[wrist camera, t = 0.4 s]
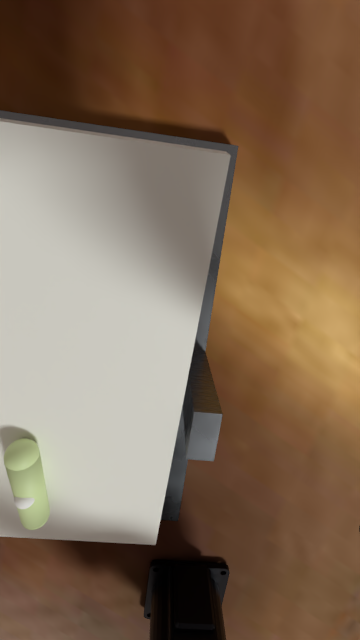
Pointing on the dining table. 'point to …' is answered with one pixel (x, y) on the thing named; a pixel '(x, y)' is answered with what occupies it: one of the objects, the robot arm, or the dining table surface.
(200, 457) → the stand
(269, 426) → the dining table surface
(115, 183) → the leveling deck
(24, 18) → the dining table surface
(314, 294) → the dining table surface
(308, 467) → the dining table surface
